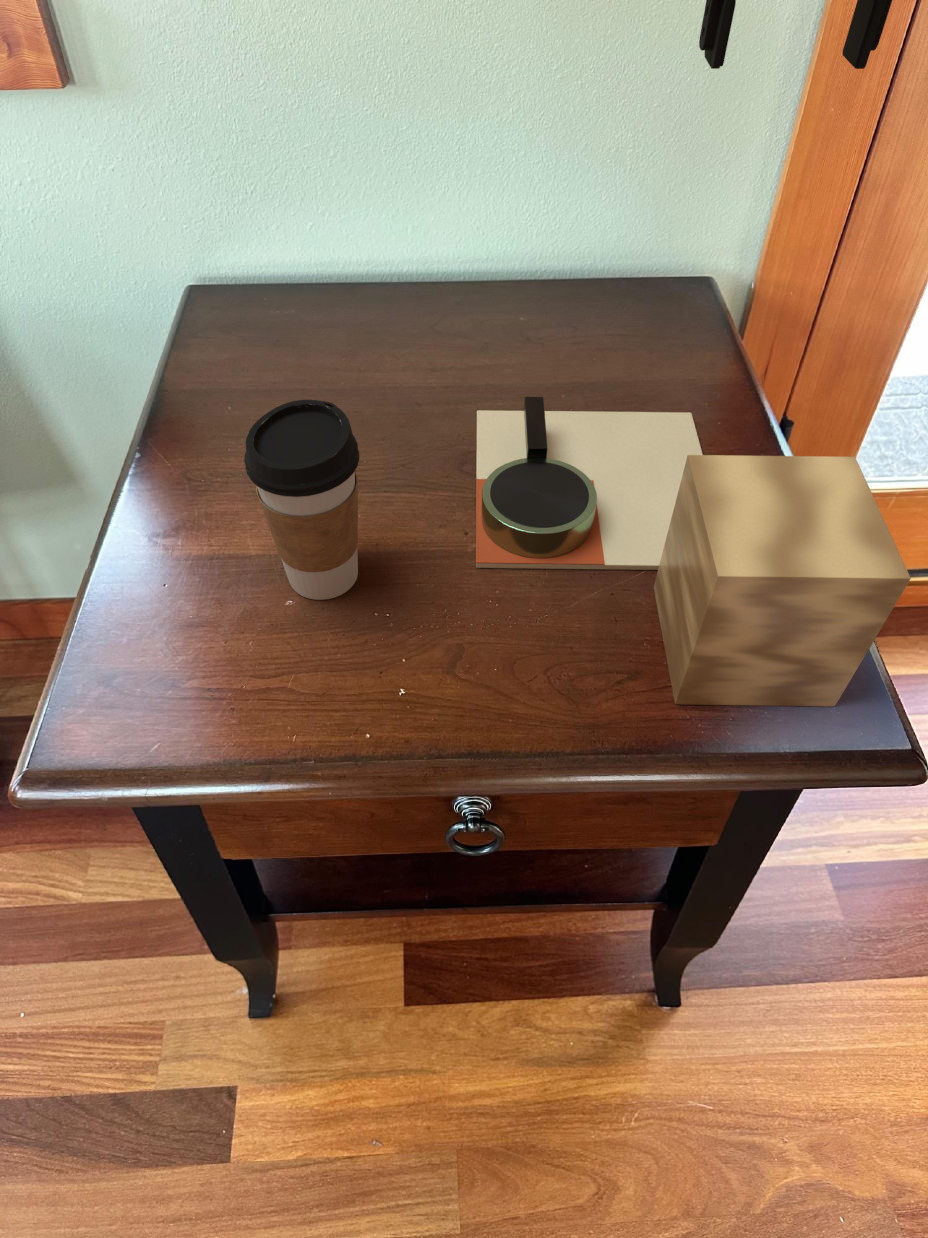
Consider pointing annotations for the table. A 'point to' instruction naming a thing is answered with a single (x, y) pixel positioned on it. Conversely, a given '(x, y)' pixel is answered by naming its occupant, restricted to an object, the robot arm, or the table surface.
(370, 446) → the table surface
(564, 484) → the pan
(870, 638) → the block
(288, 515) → the coffee cup
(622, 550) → the mat
